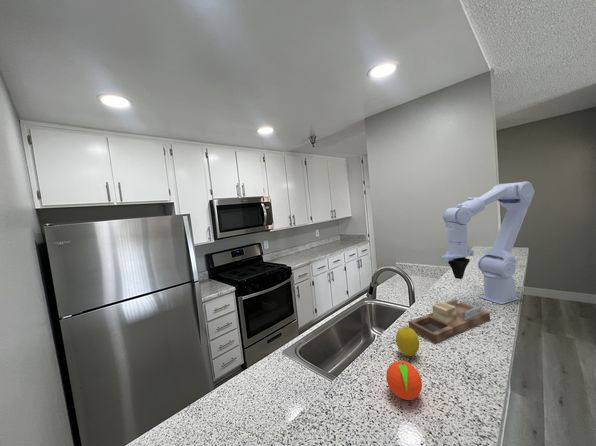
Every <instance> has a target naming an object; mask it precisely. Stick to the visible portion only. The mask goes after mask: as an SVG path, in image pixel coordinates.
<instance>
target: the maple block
mask: <svg viewBox="0 0 596 446" xmlns="http://www.w3.org/2000/svg"><path fill="white" fill-rule="evenodd" d="M444 302H445V301H441V302H438V303H435V304H432V313H433V318H436V319H438V320H440V321H442V322H444V323H449V322H451V321H454V320H456V319H457V318H456V307H455V306H452V305H449V304H447V303H444Z"/></svg>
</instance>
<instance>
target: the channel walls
mask: <svg viewBox="0 0 596 446" xmlns="http://www.w3.org/2000/svg"><path fill="white" fill-rule="evenodd" d="M443 302H444V303H447V304H449V305H452V306H455V307H457V304H458V299H457V298H453V299H450V300H447V301H443ZM474 307H475V308H472V309H470V310H467V311H465V312H462V318H463V321H467V320H470V319H472V318H475V317H477V316H479V315H481V309H482V307H481V306H479V305H478V306H474Z"/></svg>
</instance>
